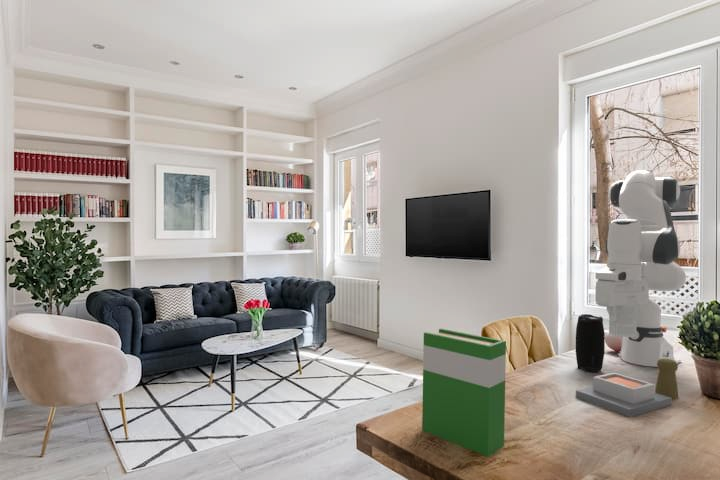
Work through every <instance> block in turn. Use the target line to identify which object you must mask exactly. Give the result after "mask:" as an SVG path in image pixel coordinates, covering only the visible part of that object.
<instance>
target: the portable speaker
mask: <svg viewBox="0 0 720 480" xmlns="http://www.w3.org/2000/svg"><path fill="white" fill-rule="evenodd" d="M605 336H606V334H605V328H604V319H603V316H596V315H593V314H587V313H586V314H585V313H584V314H580V315H579V316H578V318H577V321H576V327H575V359H576V364H577V369H579V370H580V369H583V370H584V372H586V373H592V374H598V372H600V371H602V369H603V364H604V357H605V351H606V349H605V347H606V346H605V344H606V342H605Z"/></svg>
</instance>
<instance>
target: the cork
mask: <svg viewBox="0 0 720 480" xmlns="http://www.w3.org/2000/svg"><path fill="white" fill-rule="evenodd" d="M678 367H679V366H678V364H677V363H676V362H675V361H673V360H670V359H659V360H658V362H657V367H656V368H658V373H657V379H656V385H655V388H654V393H658V394H661V395H664V396H667V397H671V398H672V400H677V399H678V400H679V390H678V383H677V373H676V372H677V370H678Z"/></svg>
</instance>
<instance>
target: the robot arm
mask: <svg viewBox="0 0 720 480" xmlns="http://www.w3.org/2000/svg"><path fill="white" fill-rule="evenodd" d="M680 194H681V187H680V185H679V183H678V181H677V179H676V178H674V177H669V176H664V177H656V176H655V175H654V174H653V173H652V172H650V171H648V170H644V169H643V170H642V169H640V170H634V171H632V172H631V173H629V174H628V175H627V176H626V178H625V179H621V180H617V181H615V182H613V183H612V184H611V186H610V189H609V193H608V197H609V201H610V204H611V205H612V206H614V208H615V207H616V208H619V209H620V210H621V212H622V213H623V214H624V215H625V216H627V217H629V218H618V219H613V220H611V222H610V224H609V228H608V232H607V233H608V234H607V237H606V238H605V254H607V255H608V256H607V260H606V266H605V267H602V269H600V270H597V272H595V279H596V283H595V302H596V304H597V306H600V307H606V311H607V313H608V317H609V318H608V321H609V320H610V321H613V322H615V321H618V315H616V311H615V310H616V309H617V306H625V305H627V296H636V297H637V328H636V337H623V339H622V347H621V351H620V352H617V353H618V354H617V356H618V357H620V359H621V360H622V361H624V362H626V363H629V364H632V365H638V366H645V367H653V368H654V367H656V368H658V367H657V362H658V360H659V359H670V360H673V361H675V362H676V363H677V365H678V364H680V363H681V361H682V360H681V358H678V357H675V356H674V347H673V345H672V344H671V343H670V342H668V340H667V339H665V337H664V333H667V330H668V329H667V327H665V326H661V323H662V322H661V317H662V316H661V314H662V313H661V312H662V308H661V307H660V305H659V304H658V303H657V302H656V301H655V300H652V299H650V296H649V295H650V294H649V291H653V292H672V291H679V290H680V289H682V288H683V287H684V285H685V283H686V279H687V276H686V272H685V270H684V269H683V268H682V266H680V265H679V264H678V263H676V260H677V259H678V258H679V256H680V253H681V243H680V239H679V238H678V236H677V233H676V229H675V225H674V222H673V216H672V213H671V210H670V207H672V206H673V205H675V204H676V203H677V202H678V199H679V198H680Z"/></svg>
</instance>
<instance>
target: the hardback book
mask: <svg viewBox="0 0 720 480" xmlns="http://www.w3.org/2000/svg"><path fill="white" fill-rule="evenodd" d="M422 349H423V353H422V354H423V355H422V356H423V358H422V362H423V364H422V410H421V411H422V412H421V413H422V416H421V418H422V421H421V422H422V423H421V424H422V425H421V426H422V427H421V431H422V432H425V433H428V434H430V435H432V436H435V437H437V438H440V439H442V440H445V441H446V442H447V441H448V442H450V443H452V444H455V445H458V446H460V447H462V448H465V449H468V450H470V451H473V452H476V453H478V454H479V455H483V456H486V457H490V456H492V454H494V453H495V452H497V451H498V450H500V449H501V448H503V447H504V446H505V419H506V418H505V417H506V415H505V412H506V411H505V410H506V405H505V404H506V369H507V367H506V363H507V362H506V361H507V360H506V359H507V354H506V353H507V341H506V340H503V339H499V338H498V339H497V338H491V337H487V336H481V335H476V334H470V333H466V332H459V331H454V330H450V329H444V328H438V332H436V333H431V332H423V348H422Z"/></svg>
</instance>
